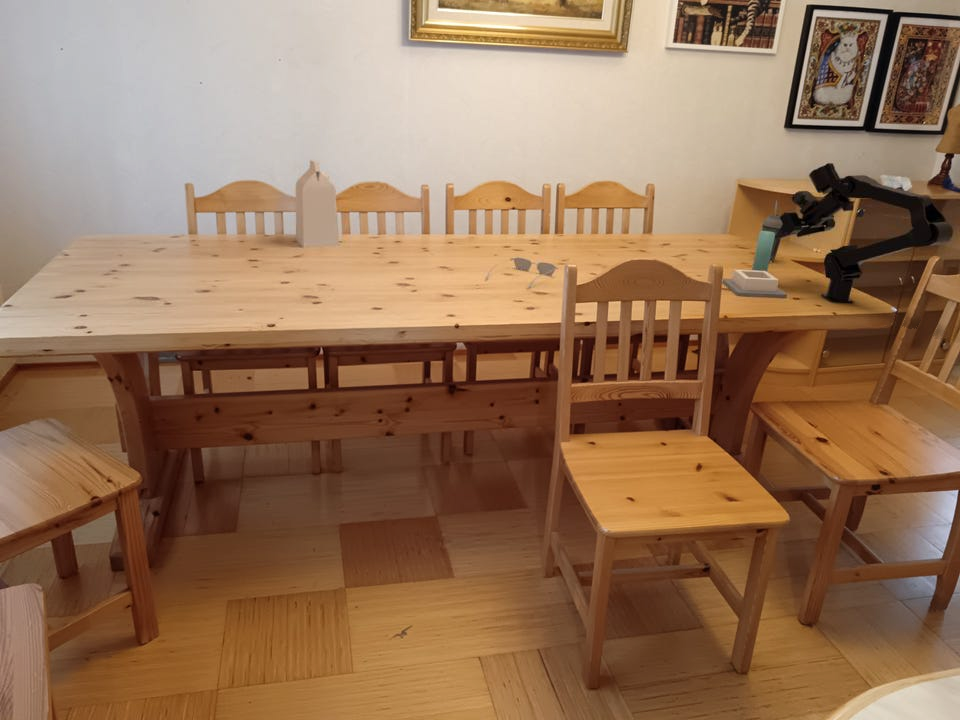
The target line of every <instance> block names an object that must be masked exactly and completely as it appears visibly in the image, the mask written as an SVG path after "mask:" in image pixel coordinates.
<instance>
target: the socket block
mask: <svg viewBox="0 0 960 720" xmlns="http://www.w3.org/2000/svg"><path fill="white" fill-rule="evenodd" d="M722 279H723V283H722V284H724V285H725V286H726V287H727V288H728V289H729V290H730V291H731V292H732V293H734V294H735V295H736V296H737V297H751V298H752V297H755V298H774V299H776V298H777V299H778V298H779V299H780V298H781V299H787V296H788V294H787V293H786V292H784V291H783V290H782V289H780V288H779V287H778V285H779V279H778V278H777V277H776V276H774V275H772V274H771V273H770V272H768V270H767V271H756V270H752V269H750V270H749V269H733V274H732V278H722Z"/></svg>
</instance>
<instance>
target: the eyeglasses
mask: <svg viewBox="0 0 960 720" xmlns="http://www.w3.org/2000/svg"><path fill="white" fill-rule="evenodd" d="M508 261H513V262H514V263H513V264H514V266H515V268H516V269H517V270H522V271H527V272H528V271H529V270H530V268H531V267H532V264H534V265H536V270H537V271H538V273H539V275H537V276H536V277H535V278H533V280H532V281H531V282H530V283H529V285H528V286H527V287H526V288H525V291H528V290H530V289H531V286H533V283H534V282H535V281H536V280H537V279H538V278H539V277H541V276H543V275H545V276H546V275H547V276H549V277H550V276H552V275H553V274H555V271H556V270H559V267H558V266H556V265H555V264H554V263H549V262H541V261H540V262H538V263H537V262H532V261H531V260H530V259H527V258H525V257H524V258H523V257H515V258H513V257H511V258H509V259H508V260H505V261H503V262H500V263H498V264H495V265H494V266H492V267H491V269H490V270H489V272H488V274H487V276H486V277H485V280H484V281H485V282H488V280H489V278H490V277H489V276H490V274H491V272H492V271H493V270H494V268H495V267H496V266H499V265H500V264H503V263H505V262H508Z"/></svg>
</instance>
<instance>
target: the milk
mask: <svg viewBox="0 0 960 720" xmlns="http://www.w3.org/2000/svg"><path fill="white" fill-rule="evenodd" d="M329 178H330V177H329V176H328V175H327V173H325V172H324V171H321V172H320V165H319V161H317V160H316V159H310V160H309V168H308V169H307V170H306V171H305V172H304V173H303V174H302V175H301V176H300V177H299V178H298V180H297V181H296V183H295V240H296V241H297V242H298V243H299V244H300V245H301V246H302V248H304V249H305V248H307V249H308V248H320V247H322V248H325V247H336V246H338V247H339V246H340V237H339V222H338V221H339V220H338V209H337V208H338V205H337V193H336V187H335V185H334V184H333V183H332V181H330V180H329Z"/></svg>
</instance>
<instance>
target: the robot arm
mask: <svg viewBox="0 0 960 720" xmlns="http://www.w3.org/2000/svg"><path fill="white" fill-rule="evenodd" d="M808 177H809V178H810V181H811V182H812V184H813V186H814V188H815V190H816V192H817V193H818V194H823V195H824V196H823V197H821V198H820V199H818V198H817V197H816V196H815V195H814V194H813V193H812V192H810V191H809V190H799V191H796V192H795V193H793V194H792V195H791V196H792V197H791V201H792V202H793V203H794V204H795V205H797V206H798V207H799V208H800V209H799V212H800V214H801V217H799V215H798V213H797V212H795V211H784V212H783V213H782V214H780V219H781V221H782V223H783V224H782V226H781V228H780V230H779V231H778V233H777V234H776V236H775V237H776V239H780V238H781V239H783V238H788V237H791V236H794V235H796V237H797V238H800V237H805V236H809V235H815V234H818V233H824V232H826V231H830V230H832V229H834V228H835V227H836V221H835V219H834V218H835V214H836V213H838V212H840V211H841V210H842V211H843V212H852V211H854V204H855V201H854V200H851V199H864V200H865V199H868V200H869V199H870V200H873V201H876V202H880V203H884V204H887V205H892V206H894V207H898V208H902V209H906V210H908V211H909V214H910V224H911V229H910V230H908V231H907V232H905V233H904V234H901V235H898V236H895V237H892V238H888V239H885V240H882V241H878V242H875V243H872V244H868V245H865V246H862V247H859V248H858V244H849V245H843V246H840V247H838V248H833V249H830V252H828V253H826V254H825V257H824V258H823V265H824V272H825V273H824V274H825V278H827V279H828V280H829V283H828V287H827V291H826V293H821V296H822V297H824V298H825V299H827V300H828V301H830V302H835V303H854V300H853V299H851V298H850V295H851V292H852V288H853V283H854V280H858V279H861V277H862V275H863V270H862V269H861V267H860V265H863V263H865V262H867V261H870V260H874V259H878V258H880V257H884V256H889V255H891V254H896V253H899V252H902V251H906V250H908V249H909V250H910V249H913V248H922V247H930V246H937V245H945V244H947V243H949V242H950V241H951V239H952V237H953V233H954V229H953V227H952V225H951V224H950V223H949V222H948V221H947V219H946V217H945V215H944V214H943V213H942V211H940V210H939V208H938V207H937V206H936V205H935V202H934V201H933V199H932V197H930V196H929V195H928V194H926V195H925V194H919V193H915V192H910V191H907V190H903V189H900V188H894V187H891V186H887V185H883V184H881V183H879V182H878V181H877V180H876V179H874V178H871V177H869V176H868V175H865V174H862V175H861V174H859V175H857V174H856V175H846V176H845V177H843V178H842V177H840V175H839V173H838V172H837V170H836V167H835V164H834V163H832V162H828V163H826V164H824V165H822V166H819V167H818V168H815V169H813V170H812V171H811V172H810V173H809V175H808Z"/></svg>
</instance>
